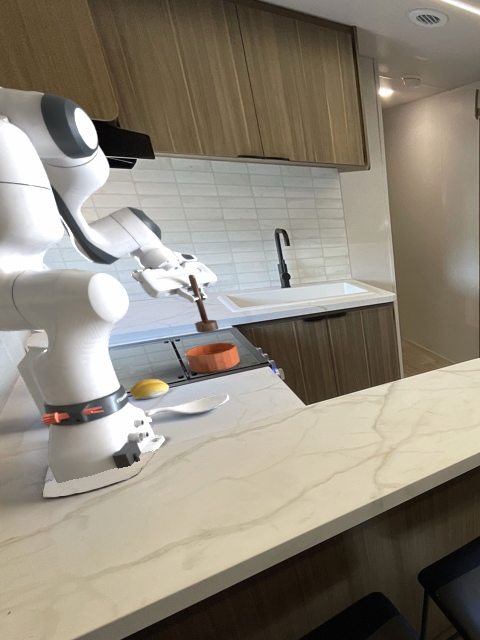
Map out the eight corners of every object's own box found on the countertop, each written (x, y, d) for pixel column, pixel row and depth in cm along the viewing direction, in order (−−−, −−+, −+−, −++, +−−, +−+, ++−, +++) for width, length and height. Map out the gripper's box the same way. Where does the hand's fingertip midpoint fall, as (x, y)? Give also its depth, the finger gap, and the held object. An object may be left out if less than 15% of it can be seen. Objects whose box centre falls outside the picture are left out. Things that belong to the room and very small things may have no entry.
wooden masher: (218, 330, 124) (201, 275, 117) (196, 333, 121) (178, 276, 115) (218, 326, 128) (203, 272, 122) (197, 328, 126) (180, 274, 119)
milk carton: (66, 425, 99) (31, 352, 92) (44, 422, 100) (8, 350, 93) (98, 411, 106) (67, 343, 98) (77, 409, 107) (45, 341, 100)
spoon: (69, 436, 94) (62, 423, 93) (228, 397, 113) (224, 386, 111) (63, 453, 88) (56, 439, 86) (233, 409, 106) (229, 397, 105)
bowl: (240, 368, 134) (235, 351, 132) (188, 377, 127) (182, 359, 125) (240, 356, 145) (236, 340, 143) (192, 363, 138) (187, 346, 136)
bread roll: (137, 403, 110) (132, 390, 108) (130, 394, 115) (124, 381, 114) (174, 393, 116) (169, 380, 114) (165, 385, 121) (160, 373, 120)
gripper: (130, 263, 109) (170, 300, 110) (199, 254, 127) (232, 286, 128) (123, 279, 111) (162, 315, 113) (192, 268, 130) (225, 299, 131)
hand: (200, 300), depth 121 cm, fingers closed on wooden masher
